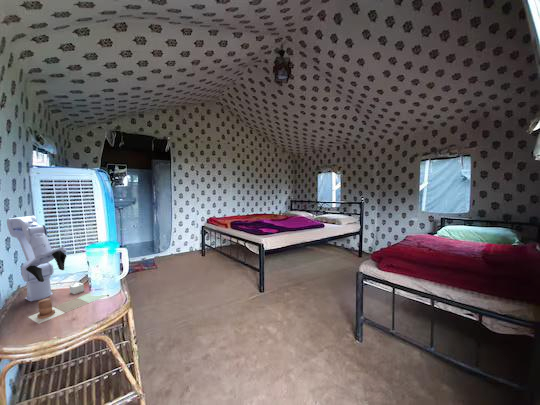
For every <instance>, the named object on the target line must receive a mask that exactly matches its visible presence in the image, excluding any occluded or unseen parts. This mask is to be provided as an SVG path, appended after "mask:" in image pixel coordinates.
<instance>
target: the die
mask: <svg viewBox="0 0 540 405" xmlns="http://www.w3.org/2000/svg"><path fill="white" fill-rule="evenodd" d="M69 292H70V294H72V295H77V294H80V293H82V292H85V285H84V283H81V282H77V283H74V284H71V285H69Z"/></svg>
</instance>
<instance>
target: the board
mask: <svg viewBox="0 0 540 405" xmlns="http://www.w3.org/2000/svg"><path fill="white" fill-rule="evenodd" d="M106 294H107V295H101V296H91V292H89V293H86V294H83V295H81V296H79V297H78V296H77V297H76V298H73V299H71V300H68V301H65V302H63V303H59V304H57V305H55V306H52V310H55V314H53V315H52V316H50V317H47V318H43V319H39V318H38V317H37V315H38V314H39V312H37V313H35V314H31V315H29V316H27V318H28V319H30V320H32V321H33V322H35V323H36V324H38V325H39V324H42V323H45V322H47V321H49V320H51V319H54V318H57V317H59V316H61V315H63V314H66V313H69V312H71V311H73V310H76V309H79V308H80V307H81V308H82V306H86V305H88V304H89V303H93V302H94V301H97V300H100V299H102V298H104V297H109V296H110V294H108V293H106Z"/></svg>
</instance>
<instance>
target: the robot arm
mask: <svg viewBox="0 0 540 405" xmlns="http://www.w3.org/2000/svg"><path fill="white" fill-rule="evenodd" d="M6 226H7V229H8V232H9V234H10V237H12V238H16V239H17V240H18V242H19V244H20V247H21V249H22V252H23V255H24V257H25V260H26V262H25V263H23V264H22V265H21V267H20V268H21V269H20V270H21V274H22V279H23V281H24V282H26V293H27V296H26V297H25V300H27V301H29V302H33V301H40V300H43V299H47V298H49V297H50V296H52V295H53V294H54V293H53V292H52V288H51V287H52V286H51V276H52V275H54V270H55V269H54V266H53V264H52V262H51V261H53V260H55V263H56V265H57V267H58V269H59V270H60V271H65V261H66V258H67V254H66V253H67V252H68V251H67V249H66V247H64V246H61V247H58V248H56V249H52V246H51V244H50V241H49V238H48V230H47V227H46V225H44V224H42V225H40V224H39V223H38V222H37V218H36V216H35V215H27V216H18V217H8V218H7V219H6Z"/></svg>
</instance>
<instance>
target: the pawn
mask: <svg viewBox="0 0 540 405" xmlns="http://www.w3.org/2000/svg"><path fill="white" fill-rule="evenodd" d="M52 304H53V303H52V298H49V297H46V298H44V299H40V300H38V303H37V306H38V313H39V314H38V315H37V317H38V318H39V319H43V318H47V317H50V316H52V315H53V314H55V310H52V307H53V305H52Z"/></svg>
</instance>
